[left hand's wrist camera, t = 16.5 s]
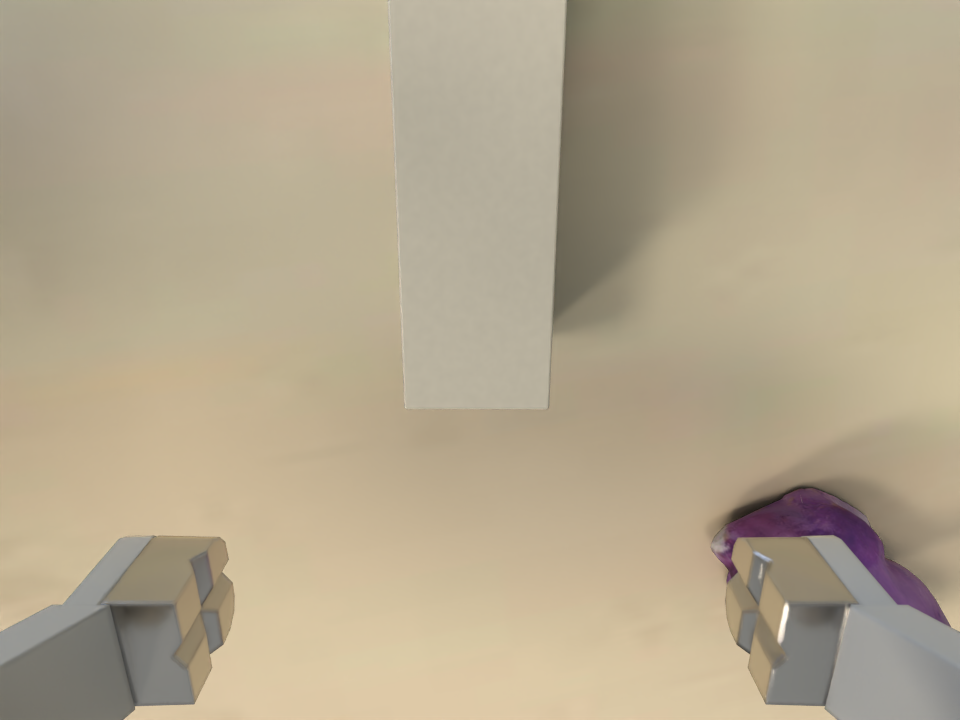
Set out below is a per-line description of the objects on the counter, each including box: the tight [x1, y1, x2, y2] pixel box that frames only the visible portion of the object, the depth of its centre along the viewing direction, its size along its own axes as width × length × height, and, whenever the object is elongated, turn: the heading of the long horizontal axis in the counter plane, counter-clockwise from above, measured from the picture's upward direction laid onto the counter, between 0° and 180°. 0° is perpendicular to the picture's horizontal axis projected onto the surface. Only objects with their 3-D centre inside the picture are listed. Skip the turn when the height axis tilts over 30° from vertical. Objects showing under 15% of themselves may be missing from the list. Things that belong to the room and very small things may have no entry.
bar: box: [388, 0, 567, 410], centre depth 25 cm, size 27×6×8 cm, turn 0°
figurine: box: [711, 488, 951, 627], centre depth 30 cm, size 9×10×15 cm
